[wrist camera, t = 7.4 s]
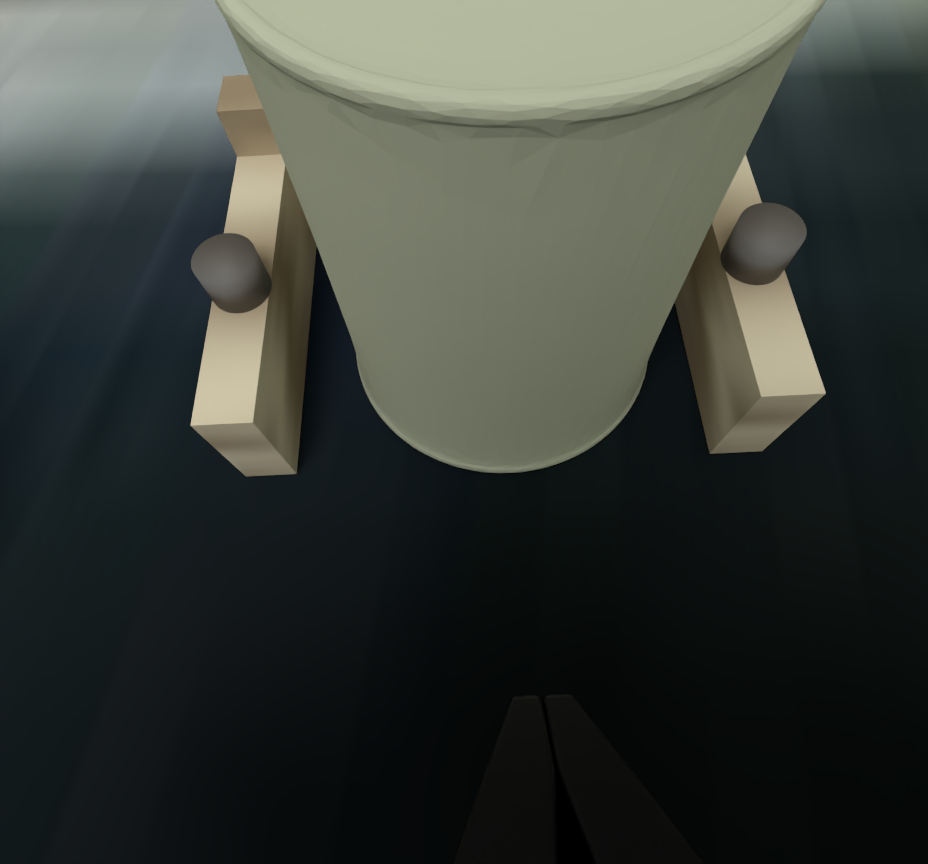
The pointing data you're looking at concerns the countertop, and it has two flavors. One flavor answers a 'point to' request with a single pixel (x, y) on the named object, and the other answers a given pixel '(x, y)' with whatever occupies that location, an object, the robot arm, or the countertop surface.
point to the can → (511, 192)
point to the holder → (291, 286)
